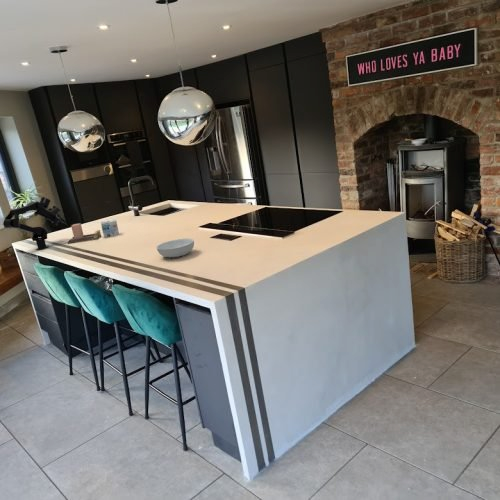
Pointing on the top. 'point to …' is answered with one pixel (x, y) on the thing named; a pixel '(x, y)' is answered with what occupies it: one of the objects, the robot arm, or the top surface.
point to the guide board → (86, 238)
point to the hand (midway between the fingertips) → (66, 223)
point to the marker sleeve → (77, 231)
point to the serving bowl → (175, 247)
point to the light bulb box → (110, 228)
